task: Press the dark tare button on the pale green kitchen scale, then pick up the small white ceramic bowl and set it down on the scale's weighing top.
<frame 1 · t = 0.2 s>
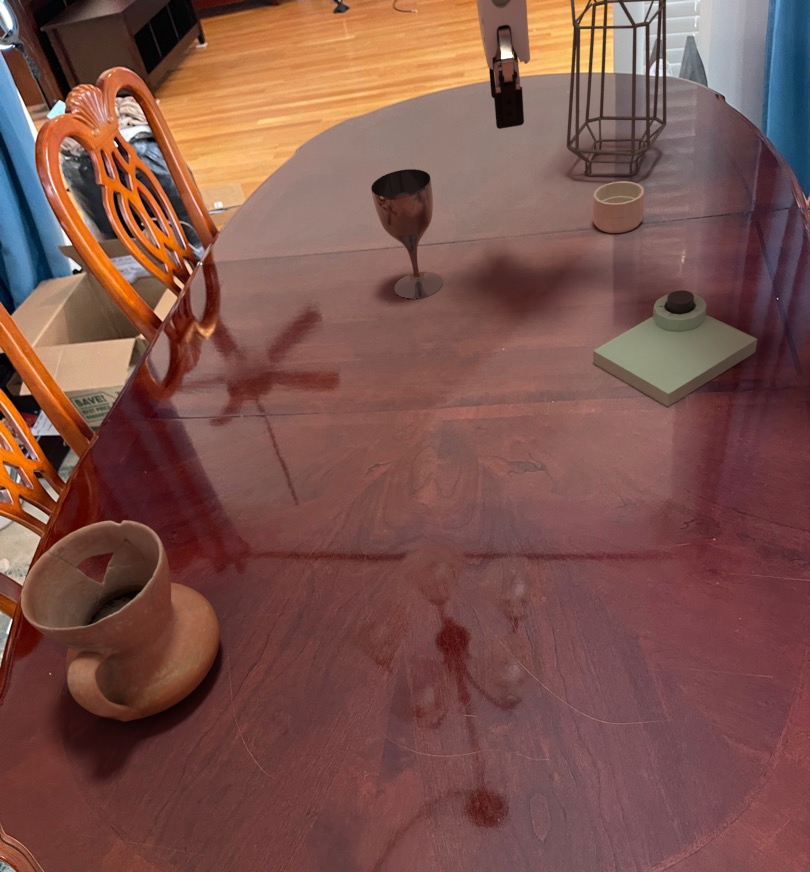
hand: (507, 110, 99), 22 cm above the table, tool pointing down, fingers open, 9 cm apart
bowl: (617, 222, 120), on the table
scale: (672, 358, 97), on the table
wine glass: (418, 286, 118), on the table
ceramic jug: (155, 671, 78), on the table
tare button: (680, 302, 97), point 4 cm above the table, slide at 0.1 cm
geometric lantern: (616, 166, 133), on the table
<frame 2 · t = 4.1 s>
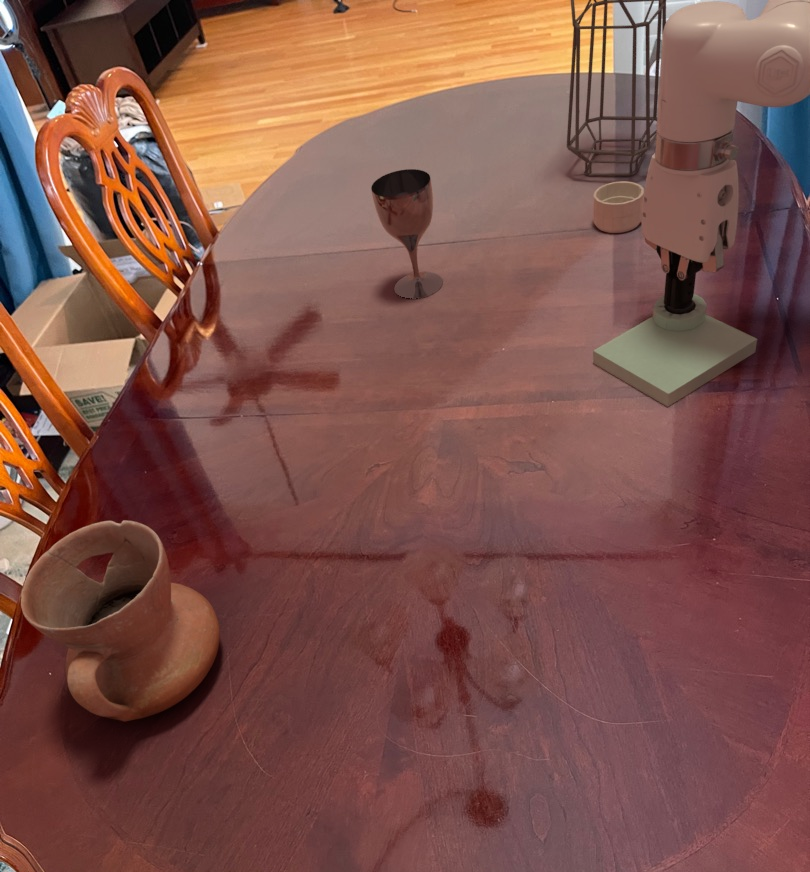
hand: (678, 301, 97), 4 cm above the table, tool pointing down, fingers closed
tare button: (679, 307, 98), point 3 cm above the table, slide at -0.6 cm, touching gripper
everything else where it was.
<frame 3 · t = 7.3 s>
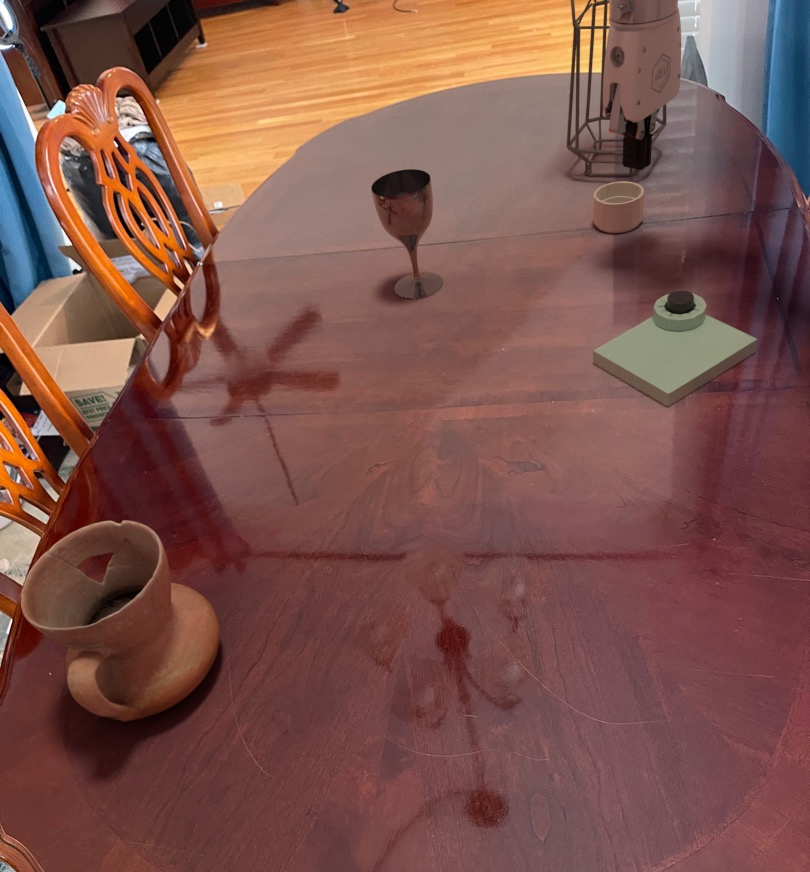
hand: (636, 165, 106), 12 cm above the table, tool pointing down, fingers closed
tare button: (680, 302, 97), point 4 cm above the table, slide at 0.1 cm
everything else where it was.
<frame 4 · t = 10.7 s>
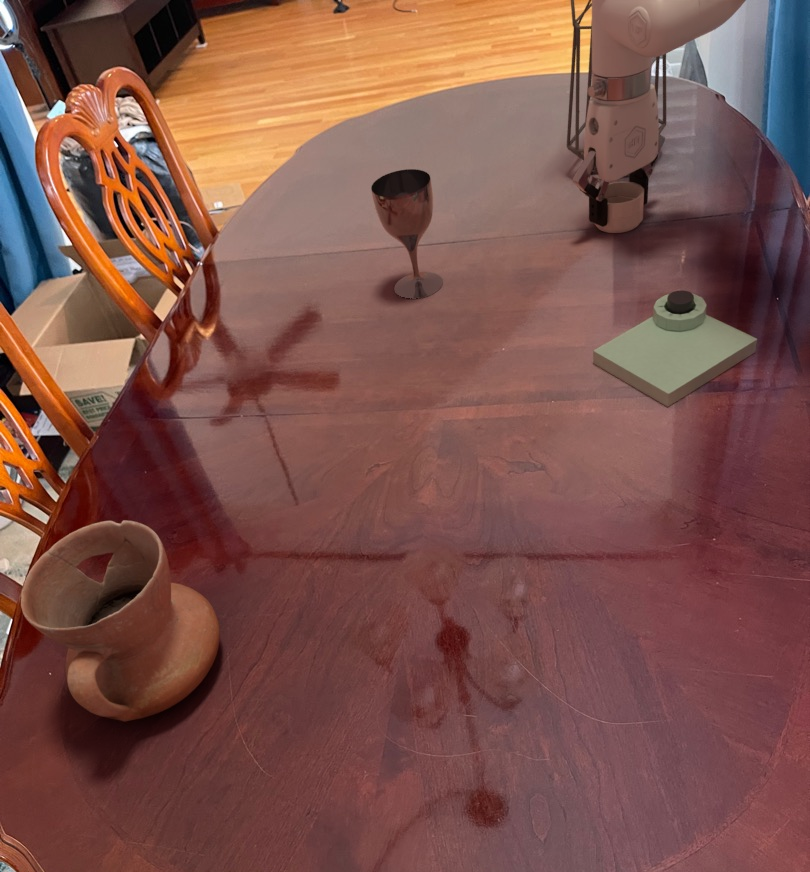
hand: (618, 211, 119), 2 cm above the table, tool pointing down, fingers closed on bowl, 7 cm apart
bowl: (617, 222, 120), on the table, touching gripper
everything else where it was.
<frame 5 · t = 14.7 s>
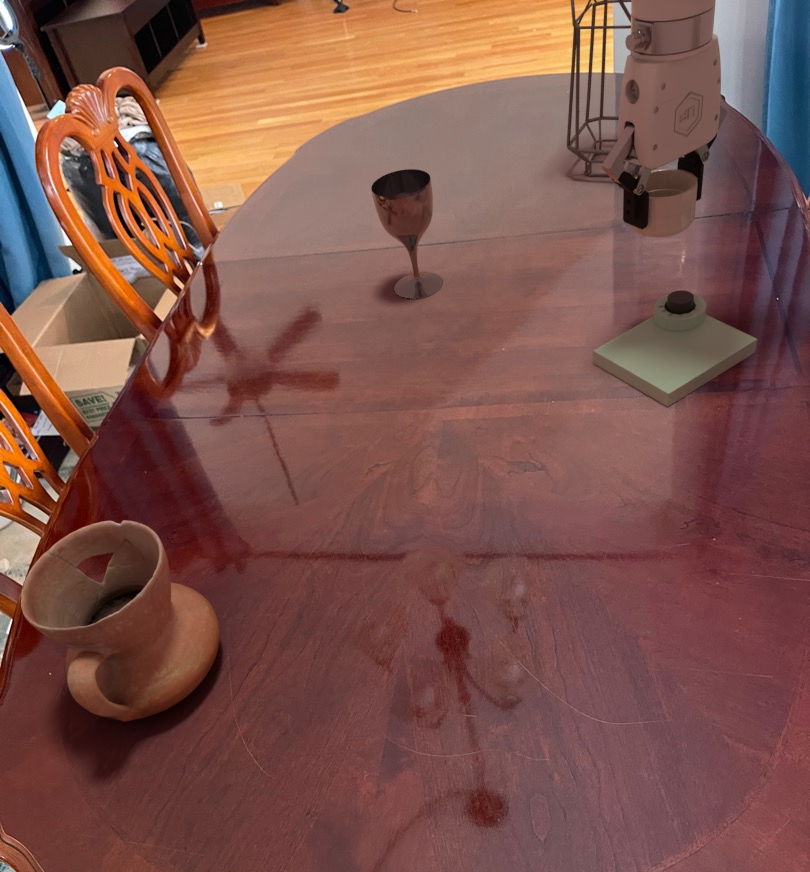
hand: (662, 209, 90), 15 cm above the table, tool pointing down, fingers closed on bowl, 7 cm apart
bowl: (661, 223, 91), point 14 cm above the table, touching gripper
everything else where it was.
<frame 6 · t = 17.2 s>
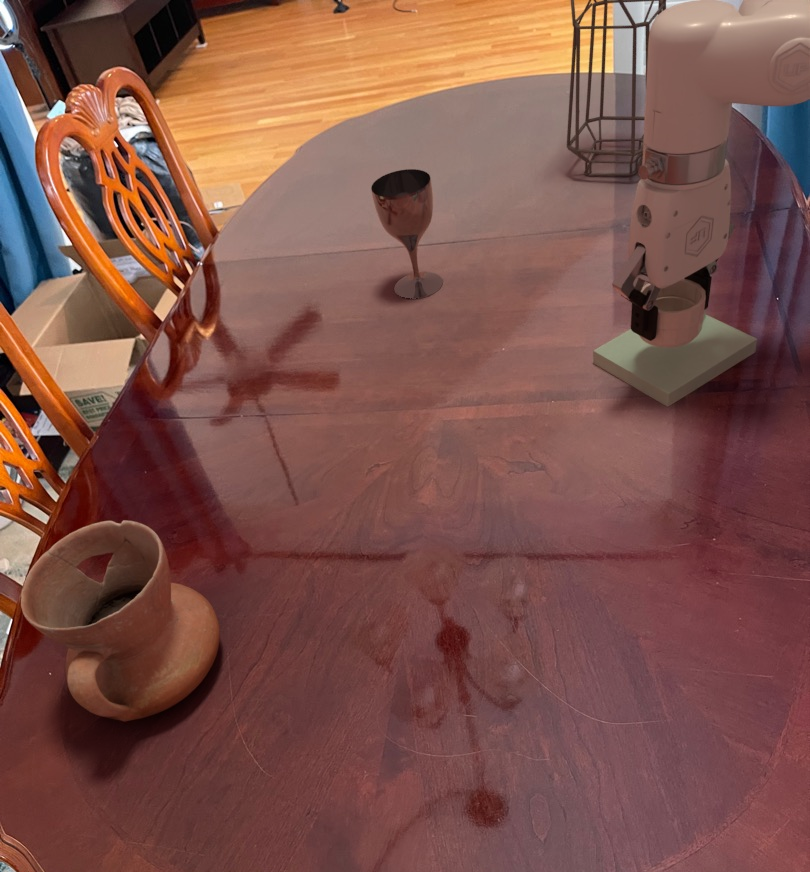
hand: (669, 318, 90), 7 cm above the table, tool pointing down, fingers closed on bowl, 7 cm apart
bowl: (667, 330, 91), point 6 cm above the table, touching gripper
everything else where it was.
when the fingers open (3 cm above the table, at t = 19.0 s): bowl stays where it is, resting on scale.
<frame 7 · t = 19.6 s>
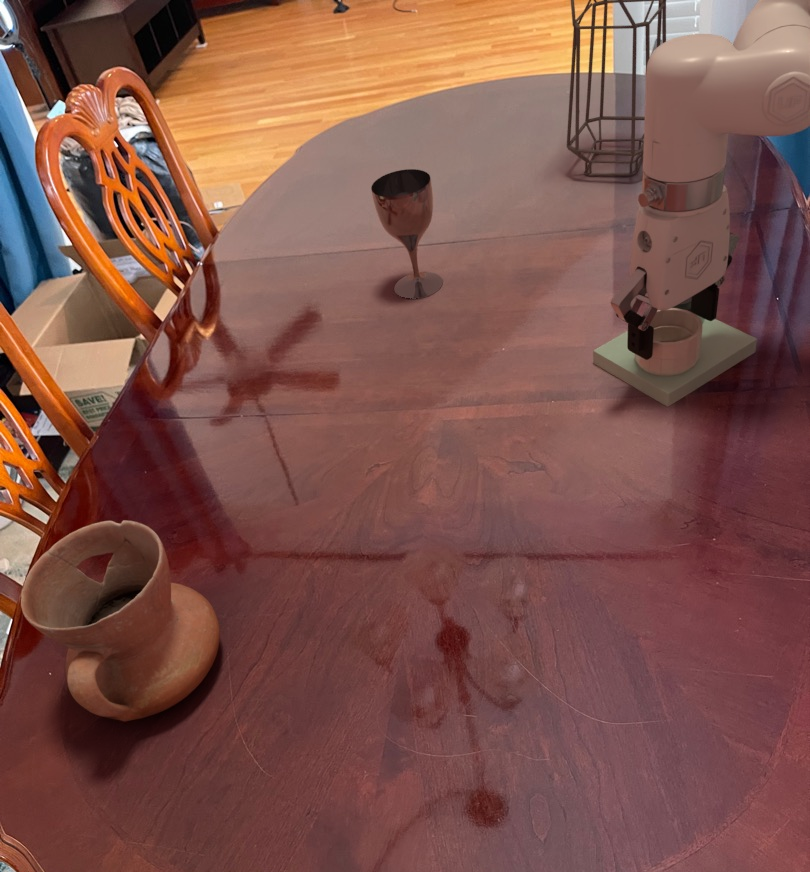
hand: (671, 334, 91), 5 cm above the table, tool pointing down, fingers open, 9 cm apart
bowl: (666, 359, 94), point 2 cm above the table, touching scale
everything else where it was.
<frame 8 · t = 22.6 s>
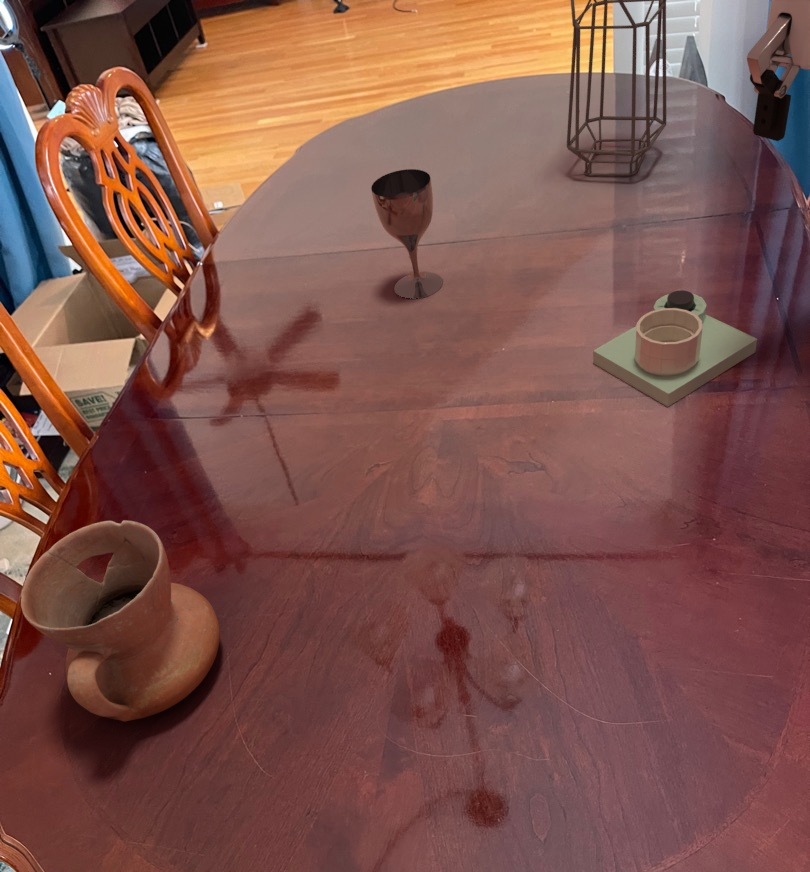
hand: (802, 118, 80), 24 cm above the table, tool pointing down, fingers open, 9 cm apart
nothing on the table moved.
at the end: tare button pushed in 0.9 cm at the most during the clip, back to where it started at the end; bowl inside the target area on the scale (0.1 cm from its centre), point 1.9 cm above the scale's base; bowl touching scale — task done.
